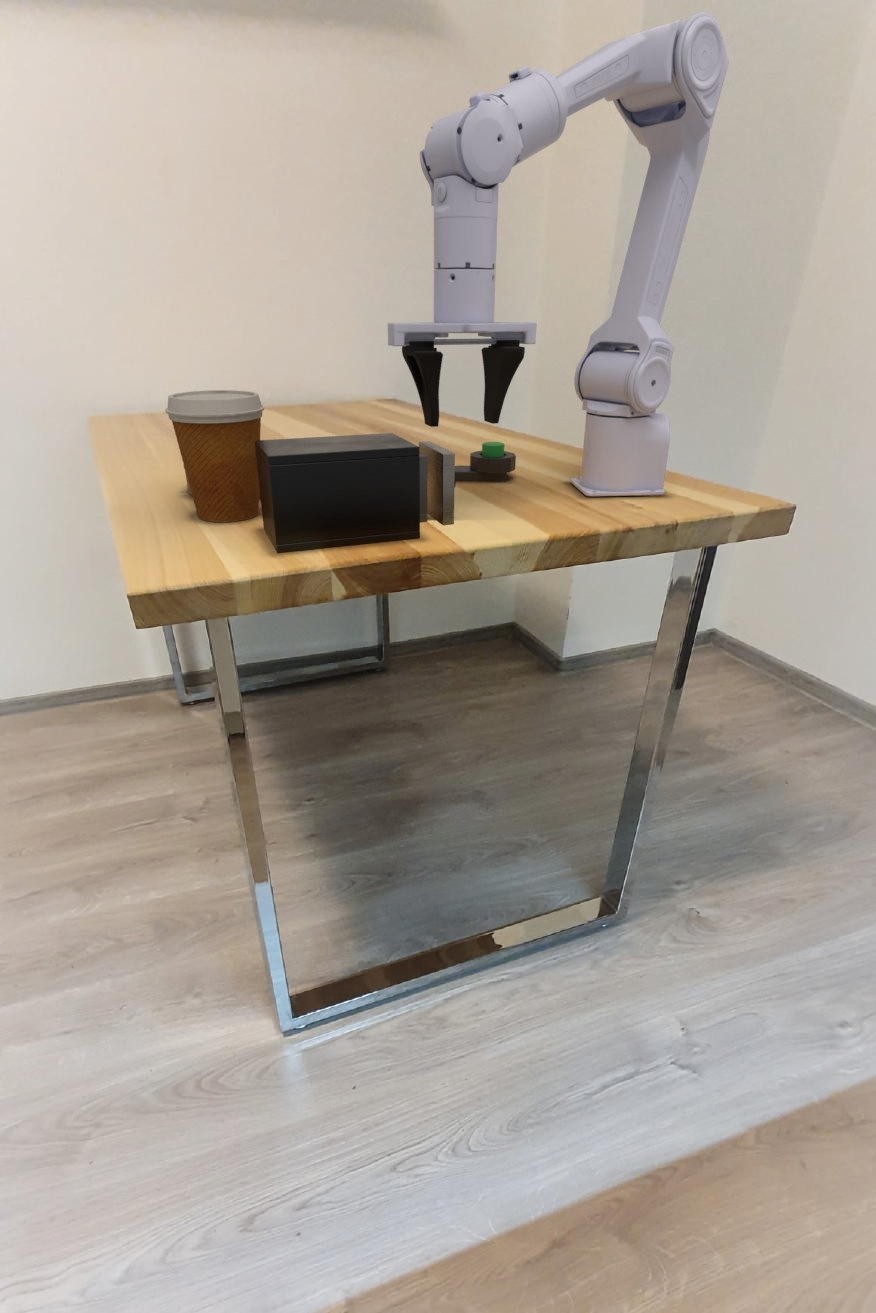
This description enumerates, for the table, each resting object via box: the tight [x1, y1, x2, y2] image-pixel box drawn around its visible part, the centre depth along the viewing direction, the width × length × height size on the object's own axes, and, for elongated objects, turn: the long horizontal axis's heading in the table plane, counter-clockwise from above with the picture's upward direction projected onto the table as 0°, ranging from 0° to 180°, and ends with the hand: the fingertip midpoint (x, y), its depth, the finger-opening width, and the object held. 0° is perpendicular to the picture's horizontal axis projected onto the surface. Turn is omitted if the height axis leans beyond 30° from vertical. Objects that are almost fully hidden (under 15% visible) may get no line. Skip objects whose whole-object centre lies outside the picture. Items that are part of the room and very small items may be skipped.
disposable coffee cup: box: [164, 389, 265, 523], centre depth 74 cm, size 10×10×12 cm
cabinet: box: [255, 432, 421, 554], centre depth 69 cm, size 14×8×9 cm, turn 110°
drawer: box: [418, 440, 457, 526], centre depth 70 cm, size 14×7×7 cm, turn 110°
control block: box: [455, 450, 517, 482], centre depth 93 cm, size 10×6×3 cm, turn 90°
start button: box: [481, 441, 505, 457], centre depth 92 cm, size 3×3×2 cm
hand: (461, 423), depth 73 cm, fingers open, 6 cm apart
